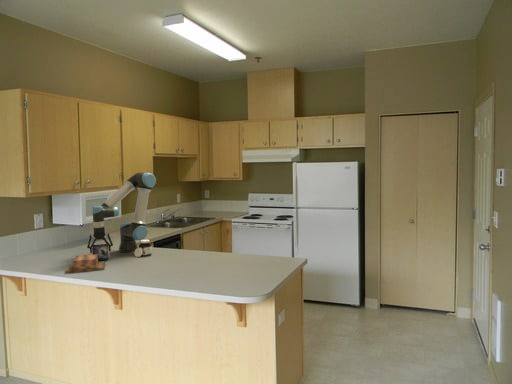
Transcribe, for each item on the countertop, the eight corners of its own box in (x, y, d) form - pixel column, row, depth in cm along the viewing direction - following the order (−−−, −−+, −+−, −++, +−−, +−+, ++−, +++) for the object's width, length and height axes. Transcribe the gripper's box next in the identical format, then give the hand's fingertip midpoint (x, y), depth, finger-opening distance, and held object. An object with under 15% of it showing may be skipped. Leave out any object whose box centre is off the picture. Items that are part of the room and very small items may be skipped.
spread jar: (153, 254, 328) (153, 239, 327) (148, 257, 317) (147, 242, 316) (138, 254, 330) (138, 239, 329) (133, 257, 318) (132, 242, 317)
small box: (92, 260, 306) (92, 246, 305) (93, 258, 312) (92, 244, 311) (108, 259, 309) (107, 245, 308) (108, 257, 315) (108, 243, 314)
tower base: (105, 263, 302) (105, 253, 301) (104, 269, 283) (103, 258, 283) (69, 266, 294) (68, 255, 294) (65, 273, 276) (65, 262, 276)
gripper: (81, 229, 302) (83, 259, 304) (115, 226, 308) (117, 255, 310) (82, 227, 309) (84, 256, 311) (115, 224, 315) (117, 253, 317)
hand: (100, 256), depth 310 cm, fingers closed on small box, 10 cm apart
